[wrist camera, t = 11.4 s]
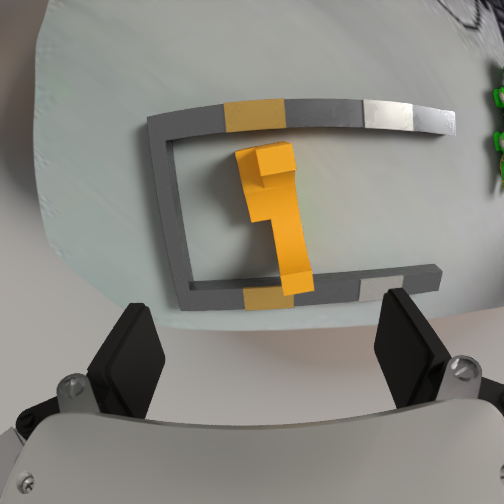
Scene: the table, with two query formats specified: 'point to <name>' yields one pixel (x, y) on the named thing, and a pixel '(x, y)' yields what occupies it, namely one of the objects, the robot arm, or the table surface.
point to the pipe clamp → (277, 208)
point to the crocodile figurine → (501, 140)
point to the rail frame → (272, 117)
